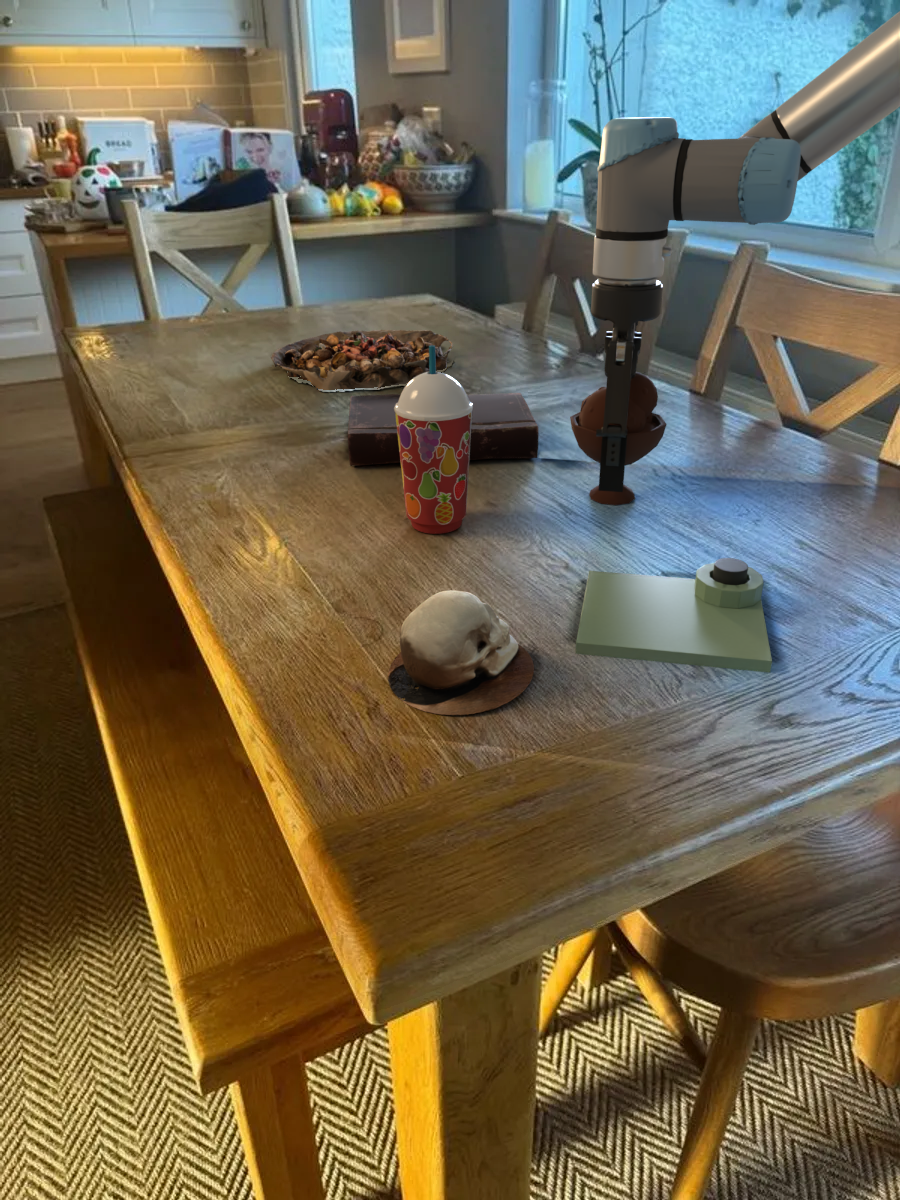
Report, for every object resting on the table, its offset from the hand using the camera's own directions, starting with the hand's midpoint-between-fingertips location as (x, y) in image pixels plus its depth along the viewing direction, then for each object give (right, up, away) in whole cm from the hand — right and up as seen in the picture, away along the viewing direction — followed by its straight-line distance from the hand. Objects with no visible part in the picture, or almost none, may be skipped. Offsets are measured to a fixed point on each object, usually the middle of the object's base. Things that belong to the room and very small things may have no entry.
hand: (613, 472), depth 108 cm
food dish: (-35, +28, +59) cm, 74 cm away
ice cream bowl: (0, -3, +1) cm, 3 cm away
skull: (-19, -22, -33) cm, 43 cm away
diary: (-21, +7, +20) cm, 30 cm away
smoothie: (-21, -7, -5) cm, 23 cm away
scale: (+1, -17, -26) cm, 31 cm away
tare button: (+6, -13, -24) cm, 28 cm away
